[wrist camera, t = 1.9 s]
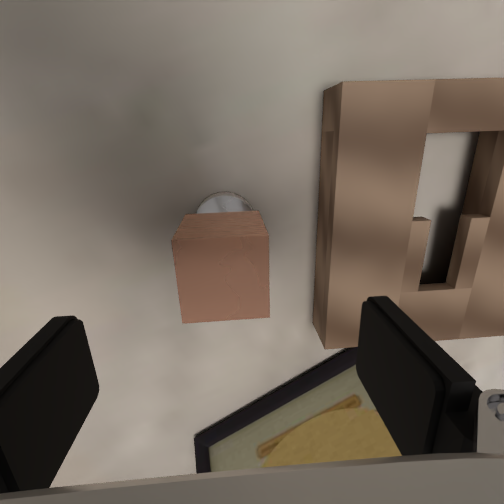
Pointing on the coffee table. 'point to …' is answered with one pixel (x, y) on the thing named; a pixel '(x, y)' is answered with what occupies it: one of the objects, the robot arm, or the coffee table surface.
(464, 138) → the coffee table surface
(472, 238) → the keyhole board
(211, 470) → the picture frame
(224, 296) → the peg
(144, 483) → the robot arm
